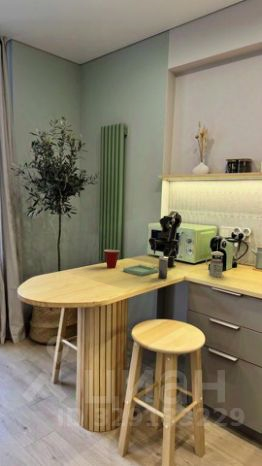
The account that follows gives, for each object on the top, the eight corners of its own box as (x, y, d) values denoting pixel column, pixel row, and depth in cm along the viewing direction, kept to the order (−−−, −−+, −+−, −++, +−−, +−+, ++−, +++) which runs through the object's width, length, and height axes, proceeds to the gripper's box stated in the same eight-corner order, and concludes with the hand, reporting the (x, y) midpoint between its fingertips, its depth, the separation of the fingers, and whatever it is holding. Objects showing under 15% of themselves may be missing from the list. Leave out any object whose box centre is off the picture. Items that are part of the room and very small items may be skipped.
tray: (139, 267, 219) (139, 264, 219) (158, 272, 208) (158, 268, 208) (123, 271, 207) (123, 268, 207) (142, 276, 197) (142, 272, 196)
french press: (225, 276, 202) (228, 237, 199) (207, 276, 202) (209, 237, 199) (220, 273, 212) (223, 235, 209) (203, 272, 212) (205, 235, 209)
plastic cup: (120, 266, 222) (120, 249, 221) (118, 269, 211) (118, 251, 210) (104, 265, 223) (105, 248, 222) (101, 268, 212) (102, 250, 211)
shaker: (161, 276, 198) (162, 255, 196) (168, 278, 194) (169, 257, 192) (156, 277, 193) (157, 256, 192) (163, 279, 190) (164, 258, 188)
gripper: (149, 225, 204) (144, 247, 197) (178, 227, 198) (174, 250, 191) (152, 234, 213) (148, 255, 206) (180, 236, 207) (176, 258, 200)
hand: (161, 254), depth 201 cm, fingers open, 9 cm apart
